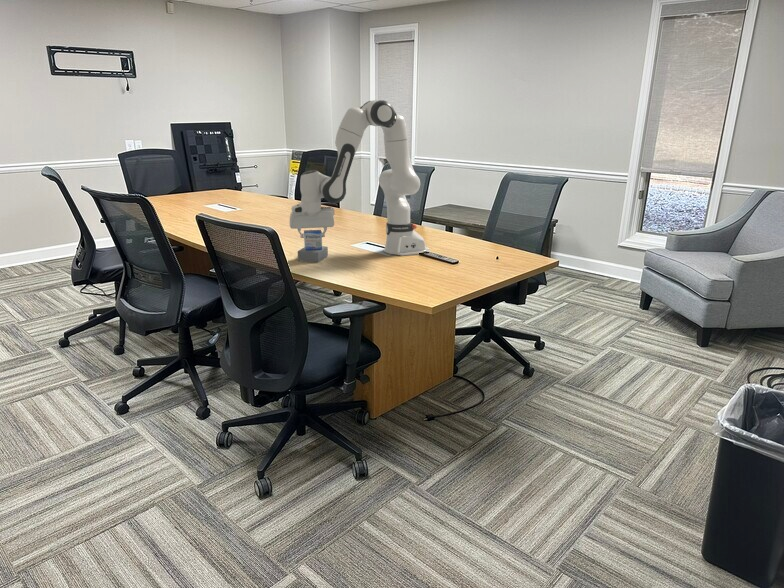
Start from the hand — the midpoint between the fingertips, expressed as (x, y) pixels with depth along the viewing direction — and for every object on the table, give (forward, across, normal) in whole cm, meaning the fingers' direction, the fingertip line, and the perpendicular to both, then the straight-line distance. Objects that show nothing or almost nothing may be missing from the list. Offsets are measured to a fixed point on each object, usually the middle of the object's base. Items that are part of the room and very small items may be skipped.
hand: (312, 237), depth 250 cm
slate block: (+10, 0, 0) cm, 11 cm away
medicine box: (+6, 0, 0) cm, 6 cm away
